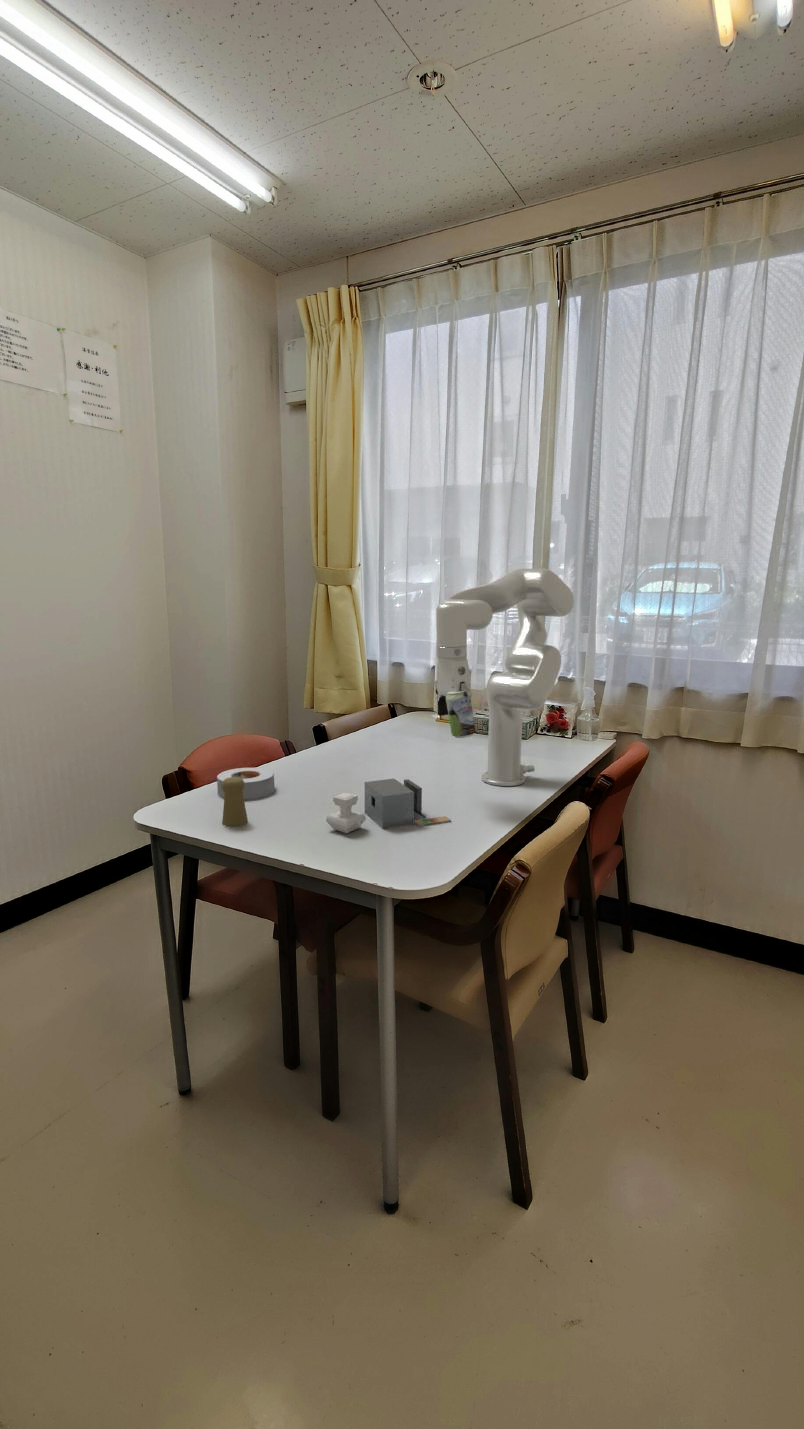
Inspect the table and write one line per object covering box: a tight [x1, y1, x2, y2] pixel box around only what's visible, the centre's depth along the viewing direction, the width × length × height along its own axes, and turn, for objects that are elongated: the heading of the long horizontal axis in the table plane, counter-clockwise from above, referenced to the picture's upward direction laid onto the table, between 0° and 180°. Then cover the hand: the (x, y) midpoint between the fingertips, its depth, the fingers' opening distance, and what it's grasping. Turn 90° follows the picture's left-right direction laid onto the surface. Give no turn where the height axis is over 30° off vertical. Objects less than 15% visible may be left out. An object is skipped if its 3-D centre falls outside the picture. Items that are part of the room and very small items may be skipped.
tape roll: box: [216, 767, 275, 801], centre depth 181 cm, size 15×15×5 cm
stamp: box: [325, 792, 367, 834], centre depth 153 cm, size 9×7×8 cm
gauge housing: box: [364, 778, 415, 830], centre depth 160 cm, size 8×12×8 cm, turn 24°
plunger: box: [403, 778, 427, 819], centre depth 159 cm, size 9×11×6 cm
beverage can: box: [446, 690, 477, 739], centre depth 163 cm, size 6×7×12 cm
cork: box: [222, 777, 249, 828], centre depth 157 cm, size 6×6×11 cm
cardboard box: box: [414, 815, 452, 827], centre depth 158 cm, size 8×3×1 cm, turn 114°
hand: (452, 718), depth 169 cm, fingers open, 9 cm apart
